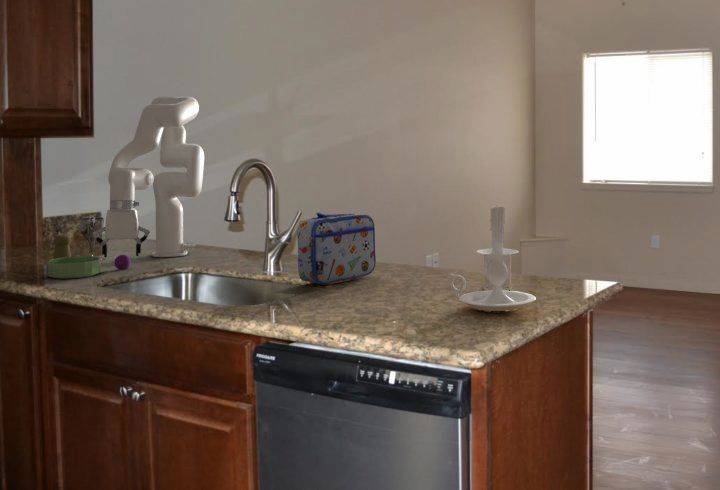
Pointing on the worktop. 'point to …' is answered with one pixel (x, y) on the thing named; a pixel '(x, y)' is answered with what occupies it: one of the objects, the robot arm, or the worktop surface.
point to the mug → (486, 265)
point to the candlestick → (495, 275)
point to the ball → (122, 262)
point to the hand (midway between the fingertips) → (121, 256)
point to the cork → (62, 246)
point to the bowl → (73, 267)
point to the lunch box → (336, 248)
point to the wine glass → (91, 229)
